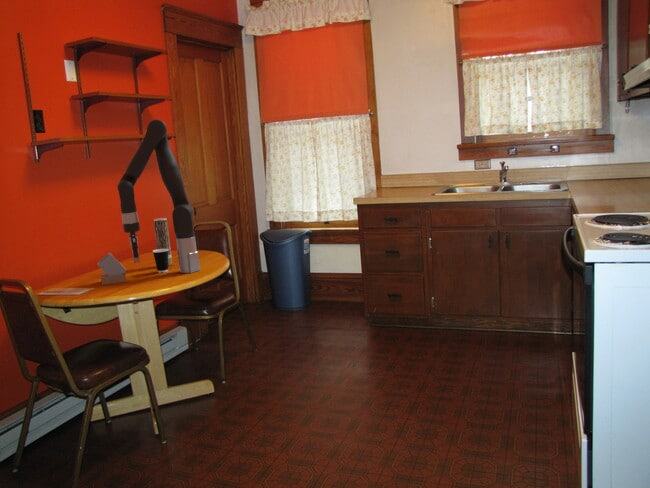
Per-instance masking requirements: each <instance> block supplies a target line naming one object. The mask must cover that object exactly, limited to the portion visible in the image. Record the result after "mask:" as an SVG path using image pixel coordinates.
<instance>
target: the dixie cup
mask: <svg viewBox="0 0 650 488" xmlns="http://www.w3.org/2000/svg"><path fill="white" fill-rule="evenodd" d="M168 250H169V249H157V248H156V249H153V250H152V253H153V258H154V261H155V262H154V263H155V266H156V271H157V273H158V274H160V273H161V272H163V273H167V272H168V271H169V266H168Z"/></svg>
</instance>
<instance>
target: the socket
mask: <svg viewBox="0 0 650 488" xmlns="http://www.w3.org/2000/svg"><path fill="white" fill-rule="evenodd" d="M97 267H99V268H100V269H101V270H102V271H103V272H104V273H102V274H100V281H101V285H102V286H105V285H113V284H120V283H126V282H127V278H126V277H127V276H126V271H127V269H126V268H125V266H123V264H122V263H121V262H119V260H118V259H117V258H116V257H115V256H114V255H113V254H112V253H111V252H108V253H107V254H106V255H105V256H103V257H102V258H101V259H100V260H99V261H98V262H97Z"/></svg>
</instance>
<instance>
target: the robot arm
mask: <svg viewBox="0 0 650 488" xmlns="http://www.w3.org/2000/svg"><path fill="white" fill-rule="evenodd" d="M146 126H147V127H146V131H145V134H144V137H143V140H142V142H141V144H140V146H139V147H138V148H137V150H136V152H135V153H134V155H133V157H132V158H131V160H130V162H129V164H128V165H127V168H126V170H125V173H123V175H122V177H121V178H120V180H119V181H118V184H117V185H116V188H117V192H118V195H119V200H120V212H121V222H122V228H123V233H125V234H128V233H129V235H128V240H129V244H130V246H132V248H131V251H132V250H133V254H134V258H138V257H140V254H139V255H138V251H139V241H138V234H136V232H139V231H141V226H140V220H139V215H138V212H137V204H136V201H135V189H134V188H135V185H136V183H137V181H138V180H139V179H140V177H141V176H142V173H144V171H145V168H146V166H147V165H148V163H149V160H150V158H151V156H152V154H153V152H154V153H155V158H156V162H157V167H158V170H159V175H160V176H161V177H160V178H161V180H162V182H163V184H164V186H165V188H166V190H167V192H168V193H169V195H170V198H171V201H172V204H173V205H172V206H173V211H172V216H171V218H172V224H173V231H174V235H175V242H176V250H177V259H178V266H179V267H178V268H179V272H180V274H192V273H194V272H195V273H196V272H198V271H200V270H201V267H200V258H199V252H198V251H197V243H196V235H195V230H194V223H193V216H194V211H193V208H192V206H191V203H190V201H189V199H188V196H187V193H186V191H185V185H184V181H183V178H182V174H181V171H180V168H179V165H178V162H177V159H176V157H175V155H174V154H173V151H172V149H171V147H170V144H169V143H170V142H169V139H168V136H167V135H168V134H167V132H168V128H167V127H168V126H167V125H166V123H165V121H163V120H161V119H153V120H151V121H150V122H149V123H148V124H147V125H146ZM131 242H132V243H131ZM134 245H136V247H133V246H134ZM137 245H138V246H137ZM133 254H132V255H133Z"/></svg>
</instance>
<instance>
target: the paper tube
mask: <svg viewBox="0 0 650 488" xmlns="http://www.w3.org/2000/svg"><path fill="white" fill-rule="evenodd" d="M153 229H154V236H155V241H156V250H157V249H169V250H168V267H170V266H172V265H173V259H172V258H173V257H172V249H171V241H170V233H169V223H168V219H167V217H160V218H153Z"/></svg>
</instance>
